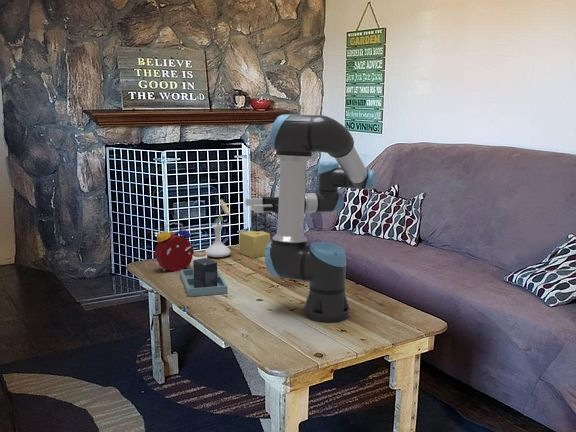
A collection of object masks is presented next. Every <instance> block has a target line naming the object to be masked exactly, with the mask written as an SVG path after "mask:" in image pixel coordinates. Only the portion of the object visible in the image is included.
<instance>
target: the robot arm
mask: <svg viewBox="0 0 576 432" xmlns="http://www.w3.org/2000/svg"><path fill="white" fill-rule="evenodd" d="M269 143H270V147H271V148H272V150H274V151H275V155H276V157H277V158H278V160H279V161H280V164H279V167H280V168H279V185H278V187H279V188H278V197H276V196H275V197H274V196H262V197H253V198H252V197H251V198H249V197H248V198H245V207H248V206H250V207H251V206H253V213H254V214H262V213H275V214H277V228H276V229H277V231H276V234H274V235H273V236H272V240H271V241H270V243H269V244H268V245H267V247H266V251H265V256H264V263H265V267H266V270H267V272H268V273H269V275H271V276H272V277H275V278H280V279H283V280H285V279H287V280H288V279H289V280H296V281H301V282H302V281H303V282H309V291H308V294H307V297H306V300H305V302H304V305H303V315H304V316H305V317H306V318H308V319H310V320H312V321H315V322H316V321H317V322H321V323H322V322H323V323H337V322H341V321H345V320H346V319H348V318H349V316H350V311H351V309H350V303H349V301H348V297H347V294H346V278H347V277H346V274H347V273H346V272H347V253H346V250H345V249H344V248H343V247H342V246H340V245H339V244H335V243H332V242H327V241H314V242H312V243H311V244H310V245H308V238H307V237H306V236H305V235H304V220H305V219H304V218H305V214H308V213H309V215H312V214H313V213H335V212H341V211H342V209H343V208H344V204H345V199H344V198H345V197H344V195H343V193H342V192H340V191H339V188H343V189H344V188H345V189H356V190H368V191H369V190H374V189H375V187H376V184H377V176H378V175H377V172H376V170H375V169H371V168H370V169H369V168H367V167H366V166H365V164H364V162H363V161H362V159H361V157H360V155H359V153H358V151H357V149H356V148H355V140H354V137H353V135H352V134H351V132H350V131H349V130H348V129H347V128H346V126H344V124H342V123H341V122H339V121H338V120H336V119H335V118H331V117H329V116H326V115H322V114H317V115H314V114H297V113H296V114H293V113H289V114H280V115H278V116H277V117H276V119H275V120H274V121H273V123H272V125H271V129H270V135H269ZM313 153H326V154H328V155H329V156H330V157H332V158H334V159H335V161H330V160H329V161H321V162H320V163H319V165H318V166H319V167H318V190H317V191H318V192H310V193H309V192H307V193H306V182H307V181H306V180H307V179H306V178H307V164H308V161H309V160H310V159H311V158H312V154H313Z"/></svg>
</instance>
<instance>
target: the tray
mask: <svg viewBox="0 0 576 432" xmlns="http://www.w3.org/2000/svg"><path fill="white" fill-rule="evenodd" d="M179 272H180V277H181V280H182V283H183V286H184V287H185V288H184V289H185V291H186V293H187V295H188V297H187V298H197V297H208V296H211V297H212V296H223V295H228V293H229V292H228V284H227V283H226V282H225V279H224V278H223V277H222V275H221V273H220V272H219V269H217V286H215V287H202V288H195V287H194V278H193V268H187V269H186V268H184V269H183V270H180V271H179Z"/></svg>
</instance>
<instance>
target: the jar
mask: <svg viewBox="0 0 576 432" xmlns="http://www.w3.org/2000/svg"><path fill="white" fill-rule="evenodd" d="M202 258H208V255H207V254H206V252H205V251H194V253H193V255H192V260H191V261H193V260H196V259H202ZM192 269H193V278H194V266H193V265H192Z"/></svg>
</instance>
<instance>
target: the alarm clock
mask: <svg viewBox="0 0 576 432" xmlns="http://www.w3.org/2000/svg"><path fill="white" fill-rule="evenodd" d="M174 224H175V225H179V226H181V229H179V230H178V231H176V234H173V230H171V229H170V231H169V232H168V231H166V227H168V226H172V225H174ZM183 227H184V226H183V223H178V222H171V223H169V224H166V225H165V226H164V227H163V228H164V229H163V230H164V231H160V233H159V234H157V237H156V242H157V244H156V247H155V250H154V252H153V255H154V256H155V259H156V261H157V262H158V264H159V266H160V267H161V268H163V269H162V272H166V270H167V271H170V272H181V271H180V270H183V269H186V268H187V269H188V267H189V266H190V265H191V262H192V261H193V260H192V255H193V253H195V251H194V248H193V246H192V244H191V242H190V240H189V239H188V238H190V239H191V233H190V232H188V230H187V229H186V228H183ZM177 234H178V235H177Z"/></svg>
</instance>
